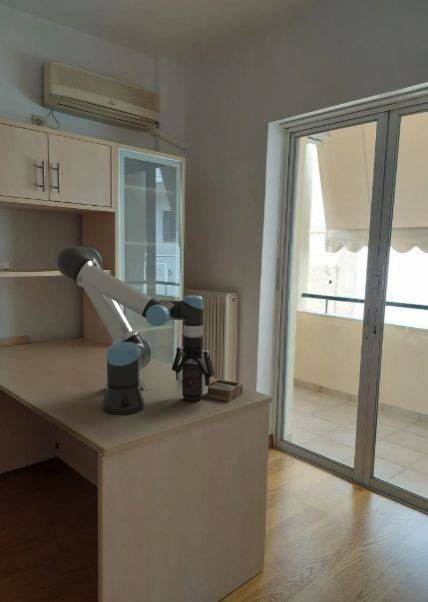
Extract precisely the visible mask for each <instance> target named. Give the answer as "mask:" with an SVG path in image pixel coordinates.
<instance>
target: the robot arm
mask: <svg viewBox="0 0 428 602" xmlns="http://www.w3.org/2000/svg"><path fill="white" fill-rule="evenodd" d="M102 260H103V259H102V257H101V255H100V253H99V252H98V251H97V250H96V249H95V248H92V247H90V246H85V245H80V246H76V245H75V246H73V245H70V246H66V247H64V248H62V249H60V250H59V252H58V253H57V255H56V257H55V266H56V268H57V271H58V272H59V273H60V274H61V275H63V277H65V278H67V279H69V280H71V281H72V282H74V283H76V285H77V286H78V287H80V288H81V287H82V288H84V291H85V292H86V294H87V296H88V297H89V299H90V301H91V302H92V304H93V307H94V308H95V310H96V312H97V314H98V315H99V318H100V319H101V321H102V323H103V325H104V326H105V328H106V330H107V331H108V333H109V335H110V336H111V339H112V344H111V345H110V346H108V348H107V350H106V356H105V358H106V385H107V389H105V390H106V391H105V394H104V397H103V400H102V408H101V409H102V411H103V412H105V413H107V414H111V415H130V414H135V413H138V412H141V411H142V410H143V409H144V408H145V398H144V397H143V394H142V389H140V388H141V387H140V385H139V377H140V376H139V374H140V371H141V370H142V369H143V368H145V367H147V365H148V364H149V362H150V361H151V359H152V356H153V350H152V346H151V344H150V342H149V341H147V340H146V339H144V338H143V337H142V335H141V334H140V332H139V331H138V330H134V329H133V328H132V326H131V323H130V321H129V319H128V320H127V319H126V318H127V317H126V315H125V314H124V311H123V310H122V308H121V306H123V307H125V308H126V309H129V310H130V311H132V312H134V313H136V314H137V315H139V316H141V317H143V318H144V319H146V321H147V323H149V325H151V326H153V327H161V326H164V325H166V324H167V323H168V322H170V321H171V320H172V321H175V320H176V321H183V335H184V336H183V340H182V341H183V344H182V345H183V346H178V347H176V354H175V357H174V361H173V362H172V363H173V364H172V367H171V370H172V371H174V373H175V379H176V381H177V390H182V385H183V384H182V380H183V376H182V366H183V362H186V361H188V360H195V361H196V362H197V363H198V364H199V366H200V368H201V370H202V372H203V376H202V395H203V394H206V393H208V385H209V384H210V382H211V381H210V380H211V377H214V376H215V371H214V367H213V363H212V359H211V355H210V354H211V352H210V350H209V349H207V350H204V349H203V344H204V337H203V335H204V333H203V332H204V299H203V297H202V296H201V295H194V294H193V295H192V294H191V295H190V294H189V295H185V296H183V299H182V300H170V299H169V300H168V299H155V298H153V297H151V296H150V295H148V294H146V293H144V292H142V291H140V290H138V289H137V288H135V287H133V286H131V285H129V284H128V283H127V282H125V281H123V280H120V278H117V277H115V276H114V275H112V274H110V273H109V272H107V271H105V270H104V268H103V266H102V264H103V261H102ZM120 305H121V306H120ZM128 321H129V322H128ZM182 354H183V355H182ZM202 355H203V356H202ZM182 356H183V357H182Z"/></svg>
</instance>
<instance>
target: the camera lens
mask: <svg viewBox="0 0 428 602" xmlns="http://www.w3.org/2000/svg"><path fill="white" fill-rule="evenodd" d="M181 372H182V376H183V380H182V384H183V385H182V389H181V391H182V398H183V401H185V402H186V403H197V402H200V401H201V399H202V397H203V377H204V374H203V372H202V370H201V368H200V366H199V364H198V363H197V362H196V360H192V359H188V361H186V362H183V366H182V370H181Z"/></svg>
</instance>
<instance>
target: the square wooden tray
mask: <svg viewBox="0 0 428 602" xmlns="http://www.w3.org/2000/svg"><path fill="white" fill-rule="evenodd" d="M243 387H244V386H243V382H237V381H232V380H231V381H230V380H224V379H219V378H217V379H214V380H212V381H210V384H209V385H208V393H206V394H203V393H202V397H205V398H210V399H215V400H220V401H224V402H231V401H232V400H234V399H235V398H237V397H239V396H241V395H242V394H243V391H244V390H243Z"/></svg>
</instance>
